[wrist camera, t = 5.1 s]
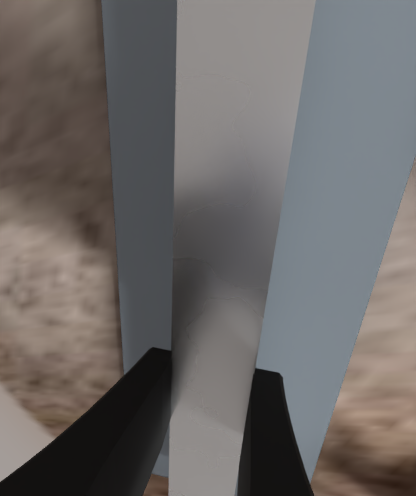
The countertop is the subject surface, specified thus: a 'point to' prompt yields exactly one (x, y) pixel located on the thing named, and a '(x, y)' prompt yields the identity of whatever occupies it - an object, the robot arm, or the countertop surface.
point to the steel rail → (226, 218)
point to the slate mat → (295, 195)
